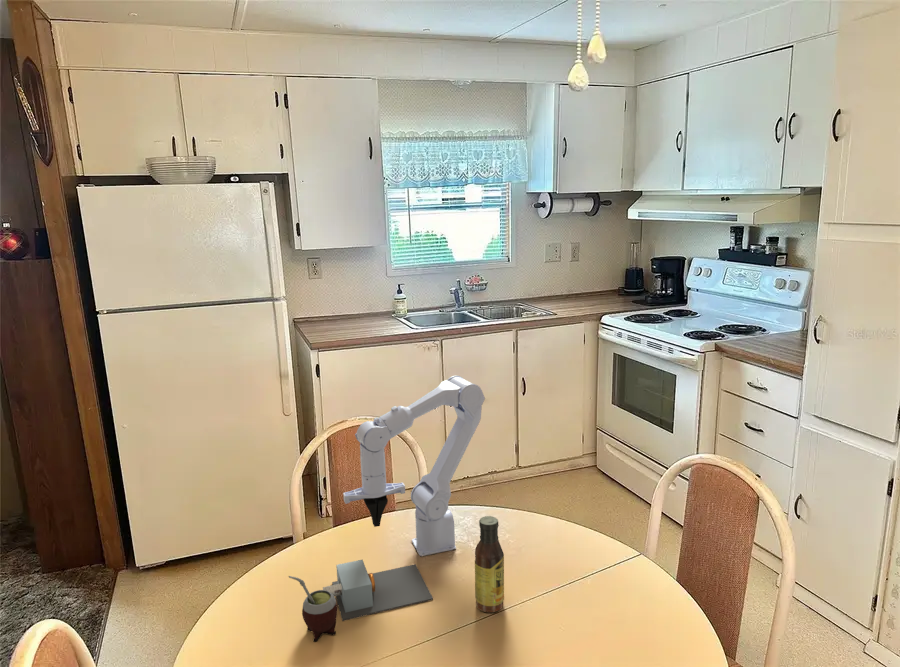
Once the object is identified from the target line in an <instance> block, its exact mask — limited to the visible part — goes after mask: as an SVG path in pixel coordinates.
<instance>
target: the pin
mask: <svg viewBox="0 0 900 667" xmlns="http://www.w3.org/2000/svg"><path fill="white" fill-rule="evenodd" d="M373 573H374V572H371V573H370V572H369V573H368V575H369V578H370V581H371V583H372V592H375V581H374V576H373ZM322 590H326V591H328V592H330V593H332V594H333V596H334V597H335V598H336V596H340V595H342V586H341V583H340V584H336V585H326V586H323V587H322Z"/></svg>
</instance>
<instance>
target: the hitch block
mask: <svg viewBox="0 0 900 667" xmlns="http://www.w3.org/2000/svg"><path fill="white" fill-rule="evenodd" d="M335 565H336V566H335V567H336V576H337V577H336V578H337V579H336V581H338V584H340V583H341V586H342V595H340V596H341V599H342V603H343V606H344V610H345V613H346V612H350V611H355V610H359V609H363V608H368V607H372V606H373V597H372V583H371V581H370V578H369V575H368V574H369V573H368V570H367V568H366V565H365V561H364V560H363V559H359V560H353V561H348V562H344V563H338V564H335Z"/></svg>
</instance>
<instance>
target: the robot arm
mask: <svg viewBox="0 0 900 667" xmlns="http://www.w3.org/2000/svg"><path fill="white" fill-rule="evenodd" d="M485 400H486V398H485V395H484V392H483V390H482V388H481V387H480V386H479V385H478V384H476V383H472V382H471V381H469V380H467V379H464V377H462V376H460V375H452V376H450V377H448V378H447V379H445V380H442V381H441V382H440V383H439V384H438V386H437V387H436V388H434V389H433V390H431V391H429V392H427V393H426V394H425V395H423V396H421V397H420V398H419V399H416V400H415V401H414V402H412V403H411V404H409V405H408V406H403V405H398V406H396V405H394V406H392V407H391V408H390V409H391V410H389V411H388V412H386V413H384V414H382V415H380V416H379V417H378V416H376V417H375V418H373V421H372V420H370V421H369V420H367V421H364V422H363V423H360V425H359V426H358V427H357V430H356V433H355V434H354V435H355V438H356V440H357V441H358V442H359V450H360V451H359V452H360V453H359V454H360V456H359V459H360V475H361V487H359V488H355V489H352V490H349V491H346V492H343V493H342V495H343V501H344V504H350V502H354V501H361V500H363V501H364V502H363V503H364V504H365V507H366V508H367V509H368V511H369V514H370V517H371V520H372V521H371V522H372V525H373V528H376V527H380V526H381V521H382V516H383V513H384V511H385V508H386V506H387V505H388V497H387V496H389V495H390V496H391V495H395V494H406V485H405V483H404V482H396V483H395V482H393V483H387V474H386V454H385V448H386V446H387V445H388V442H390V441H391V439H392V438H394V437H396V436H398V435H400V434H402V433H403V432H405V431H406V430H408V429H410V428H411V427H412V426H413V424H414V421H415V420H416V419H418V418H420V417H422V416H424V415H426V414H427V413H430V412H431V411H433V410H436V409H438V408H439V407H442V406H449V407H453V408H454V411H455V413H456V415H457V418H456V420H455V422H454V424H453V426H452V428H451V430H450V432H449V433H448V436H447V438H446V440H445V442H444V443H443V446H442V448H441V450H440V452H439V454H438V456H437V458H436V459H435V460H436V461H435V462H434V464H433V466H432V468H431V470H430V472H429V473H427V474H425V475H423V476H422V477H421V479H420V480H419V482H418V483H416V485H415V486H414V487H413V488H412V490H411V492H410V500H411V501H412V503H413V504H414V505H415V512H414V514H415V536H416V537H414V538H412V539H411V542H412V544H413V546H414V548H415V549H416V551H417V553H418V555H419V556H420V557H423V556H424V557H425V556H429V555H433V554H439V553H443V552H447V551H452V550H456V549H457V546H456V539H455V538H456V537H455V536H456V533H455V532H456V531H455V520H454V519H455V518H454V516H453V513H452V511H451V509H449V502H450V499H451V496H452V491H451V484H450V483H451V481H452V479H453V476H454V475H455V473H456V471H457V469H458V466H460V465H459V464H460V462H461V461H462V458H463V456H464V454H465V453H466V451H467V448H468V447H469V444H470V443H471V440H472V438H473V436H474V434H475V432H476V431H477V428H478V427H479V425H480V421H481V419H482V405H483V404H484V402H485Z"/></svg>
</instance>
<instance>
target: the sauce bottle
mask: <svg viewBox="0 0 900 667" xmlns="http://www.w3.org/2000/svg"><path fill="white" fill-rule="evenodd" d="M478 524H479V525H478V526H479V529H480V530H479V533H480V535H479V541H478V543H477V544H476V546H475V549H474V550H475V551H474V559H475V560H474V595H475V604H476V607H477V609H479V611H482V612H484V613H490V614H491V613H496V612H498V611H500V610H501V609H502V608H503V607H504V600H505V554H504V551H503V548H502V546H501V543H500V541H499V534H498V533H499V530H498V529H499V526H500V525H499V519H498V518H497V517H495V516H491V515H486V516H482V517H480V519H479V520H478Z"/></svg>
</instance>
